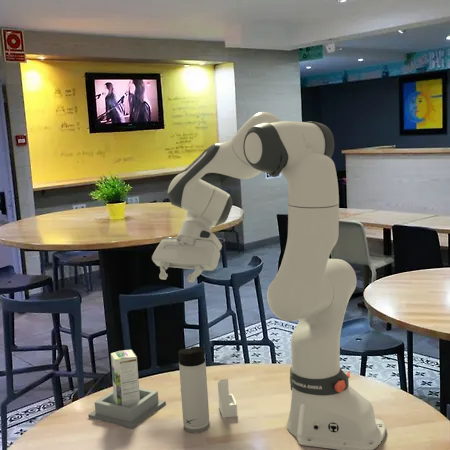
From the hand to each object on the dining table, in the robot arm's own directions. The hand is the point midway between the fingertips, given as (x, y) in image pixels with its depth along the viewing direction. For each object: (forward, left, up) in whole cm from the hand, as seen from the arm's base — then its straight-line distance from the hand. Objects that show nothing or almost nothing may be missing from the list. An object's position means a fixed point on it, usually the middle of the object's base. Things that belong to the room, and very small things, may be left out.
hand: (176, 279), depth 163 cm
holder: (+3, +21, -29) cm, 36 cm away
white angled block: (-21, +11, -30) cm, 38 cm away
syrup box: (+3, +21, -29) cm, 36 cm away
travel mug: (-18, +21, -30) cm, 41 cm away
